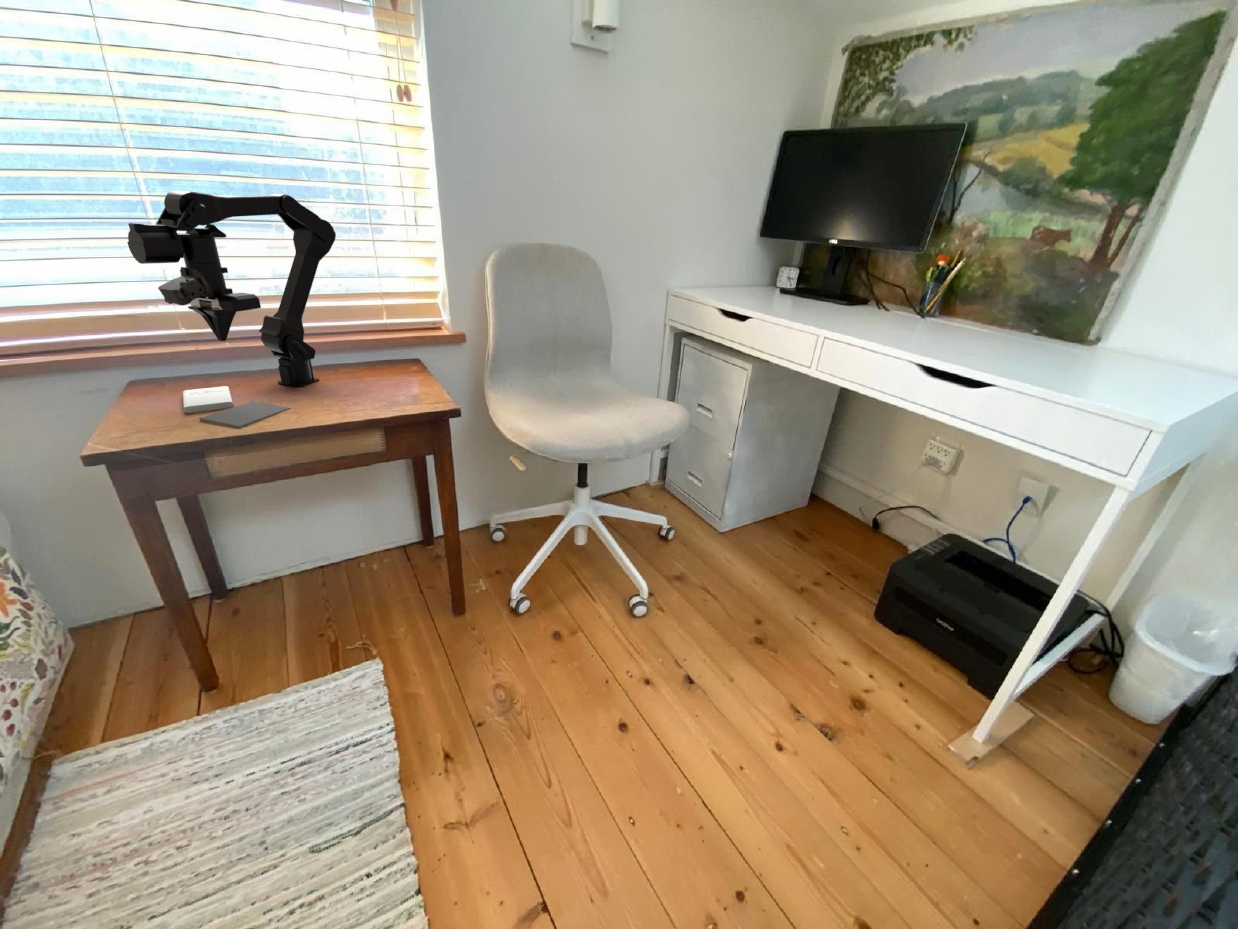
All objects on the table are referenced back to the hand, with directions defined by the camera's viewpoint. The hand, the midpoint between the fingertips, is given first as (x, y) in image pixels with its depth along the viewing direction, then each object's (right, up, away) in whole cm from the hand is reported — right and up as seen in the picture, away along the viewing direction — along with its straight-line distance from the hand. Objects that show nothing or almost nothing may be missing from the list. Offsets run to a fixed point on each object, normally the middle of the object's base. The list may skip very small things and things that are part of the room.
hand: (222, 340), depth 112 cm
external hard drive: (-1, -14, -2) cm, 15 cm away
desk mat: (+7, -16, -2) cm, 18 cm away
